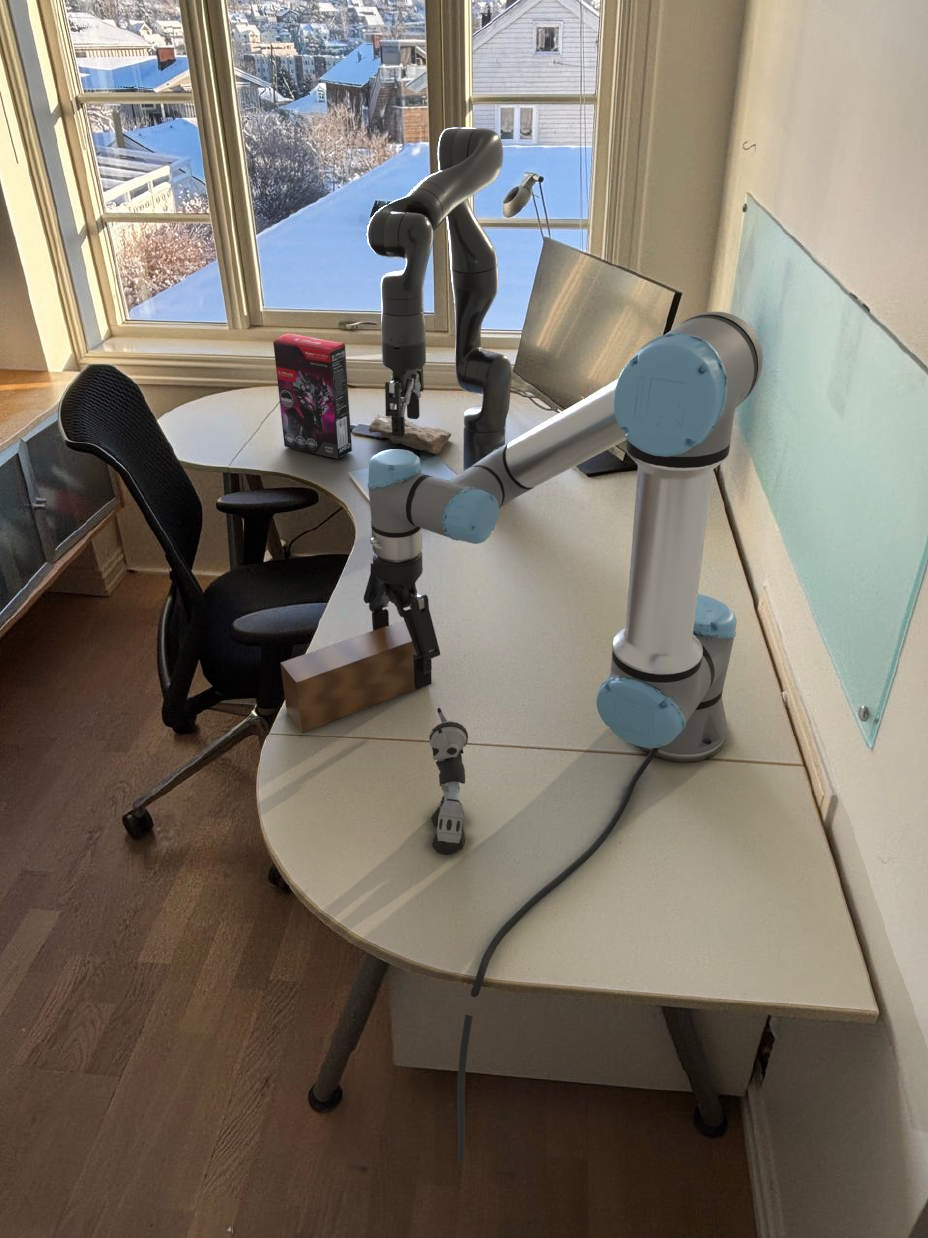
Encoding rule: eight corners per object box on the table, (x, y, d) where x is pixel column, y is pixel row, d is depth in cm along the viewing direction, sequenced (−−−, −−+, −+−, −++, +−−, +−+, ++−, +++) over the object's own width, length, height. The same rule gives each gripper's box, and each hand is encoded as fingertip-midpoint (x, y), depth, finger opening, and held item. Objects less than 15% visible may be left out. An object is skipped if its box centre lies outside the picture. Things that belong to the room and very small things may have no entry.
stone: (352, 437, 229) (357, 414, 227) (374, 429, 242) (378, 406, 240) (431, 462, 226) (437, 438, 223) (448, 452, 239) (454, 429, 237)
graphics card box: (282, 447, 232) (270, 339, 217) (298, 438, 237) (288, 331, 222) (338, 461, 225) (330, 350, 210) (354, 451, 230) (347, 342, 215)
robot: (470, 888, 117) (472, 772, 106) (432, 889, 117) (430, 773, 106) (463, 780, 133) (464, 669, 122) (429, 781, 133) (427, 670, 122)
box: (409, 666, 156) (408, 618, 151) (427, 684, 152) (427, 635, 147) (286, 712, 146) (280, 662, 141) (302, 733, 142) (296, 682, 136)
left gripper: (396, 323, 164) (399, 410, 173) (368, 347, 153) (373, 439, 162) (436, 327, 163) (437, 415, 172) (411, 351, 151) (413, 444, 160)
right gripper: (337, 524, 146) (346, 635, 158) (418, 595, 129) (421, 713, 141) (379, 513, 149) (384, 621, 161) (463, 580, 132) (462, 696, 144)
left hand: (406, 426), depth 167 cm, fingers open, 8 cm apart
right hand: (401, 664), depth 151 cm, fingers open, 13 cm apart
